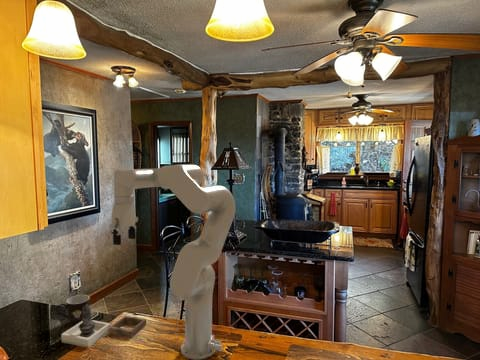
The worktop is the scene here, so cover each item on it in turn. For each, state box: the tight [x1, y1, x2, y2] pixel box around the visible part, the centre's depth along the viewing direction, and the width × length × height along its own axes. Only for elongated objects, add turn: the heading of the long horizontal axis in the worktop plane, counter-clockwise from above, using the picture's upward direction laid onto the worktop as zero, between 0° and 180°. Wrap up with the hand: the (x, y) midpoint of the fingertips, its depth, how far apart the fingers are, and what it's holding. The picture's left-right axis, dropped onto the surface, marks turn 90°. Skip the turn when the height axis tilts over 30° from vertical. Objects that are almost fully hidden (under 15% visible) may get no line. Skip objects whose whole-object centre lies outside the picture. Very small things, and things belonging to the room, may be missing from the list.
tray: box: [60, 319, 112, 349], centre depth 124 cm, size 12×12×3 cm
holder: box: [108, 315, 147, 339], centre depth 129 cm, size 10×10×2 cm
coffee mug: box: [55, 294, 91, 328], centre depth 134 cm, size 12×9×10 cm
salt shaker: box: [79, 304, 96, 338], centre depth 123 cm, size 6×6×12 cm
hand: (124, 241), depth 132 cm, fingers open, 9 cm apart
